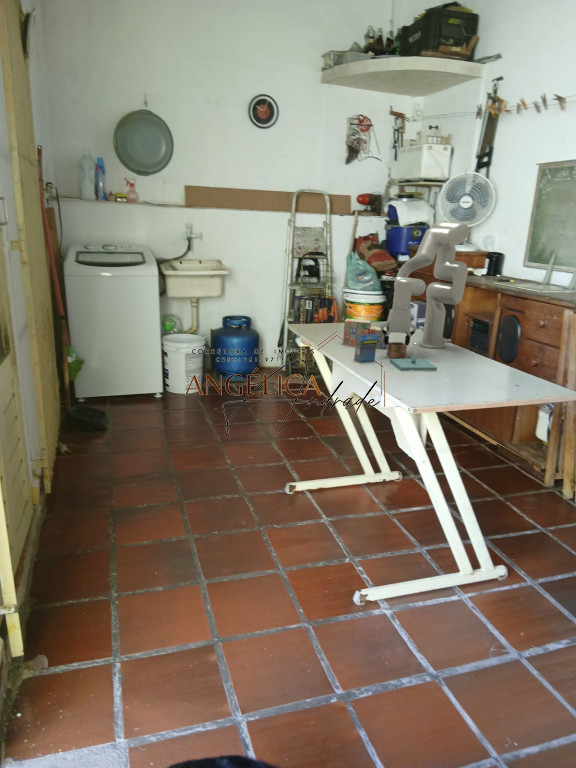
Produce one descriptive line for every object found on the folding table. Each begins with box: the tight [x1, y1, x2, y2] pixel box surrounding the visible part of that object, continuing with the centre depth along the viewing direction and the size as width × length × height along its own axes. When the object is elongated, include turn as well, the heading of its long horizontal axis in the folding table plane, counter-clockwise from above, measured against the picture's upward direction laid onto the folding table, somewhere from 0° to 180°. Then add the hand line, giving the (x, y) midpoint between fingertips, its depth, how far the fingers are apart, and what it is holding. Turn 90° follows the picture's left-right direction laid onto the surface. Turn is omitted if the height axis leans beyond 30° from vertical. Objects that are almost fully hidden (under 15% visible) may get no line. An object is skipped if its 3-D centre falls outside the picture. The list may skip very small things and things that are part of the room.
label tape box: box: [353, 334, 377, 363], centre depth 243 cm, size 9×4×12 cm, turn 119°
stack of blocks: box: [342, 318, 388, 350], centre depth 270 cm, size 21×6×12 cm, turn 77°
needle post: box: [410, 342, 419, 364], centre depth 238 cm, size 2×2×9 cm
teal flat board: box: [389, 358, 438, 372], centre depth 239 cm, size 16×14×2 cm
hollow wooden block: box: [386, 341, 408, 359], centre depth 253 cm, size 7×7×6 cm
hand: (396, 344), depth 252 cm, fingers open, 9 cm apart
